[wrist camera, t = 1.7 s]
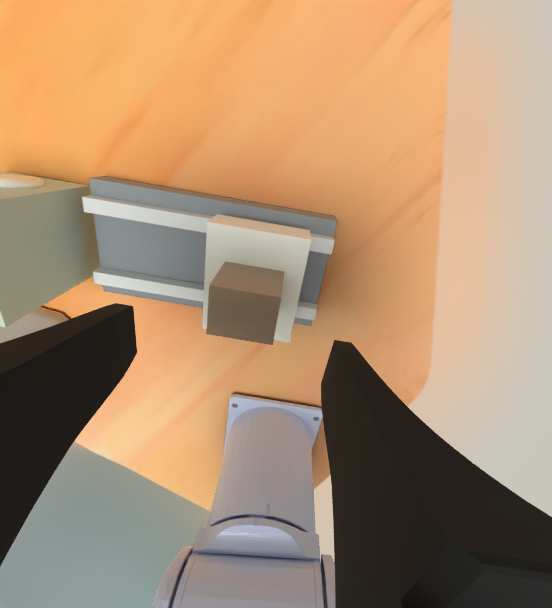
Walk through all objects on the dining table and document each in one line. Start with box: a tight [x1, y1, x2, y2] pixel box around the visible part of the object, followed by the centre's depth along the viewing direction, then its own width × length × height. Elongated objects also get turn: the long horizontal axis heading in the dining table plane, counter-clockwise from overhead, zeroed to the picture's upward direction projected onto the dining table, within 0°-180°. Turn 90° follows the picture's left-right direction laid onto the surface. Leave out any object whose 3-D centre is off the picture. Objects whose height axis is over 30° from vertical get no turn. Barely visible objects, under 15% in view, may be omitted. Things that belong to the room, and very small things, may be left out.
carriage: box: [202, 214, 311, 345], centre depth 15 cm, size 6×5×5 cm
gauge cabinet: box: [0, 172, 100, 327], centre depth 16 cm, size 6×5×8 cm
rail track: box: [82, 176, 337, 326], centre depth 18 cm, size 7×14×2 cm, turn 81°
